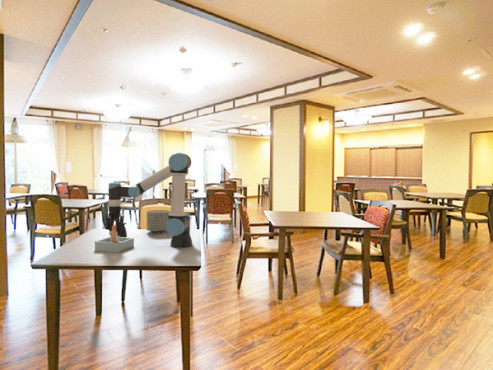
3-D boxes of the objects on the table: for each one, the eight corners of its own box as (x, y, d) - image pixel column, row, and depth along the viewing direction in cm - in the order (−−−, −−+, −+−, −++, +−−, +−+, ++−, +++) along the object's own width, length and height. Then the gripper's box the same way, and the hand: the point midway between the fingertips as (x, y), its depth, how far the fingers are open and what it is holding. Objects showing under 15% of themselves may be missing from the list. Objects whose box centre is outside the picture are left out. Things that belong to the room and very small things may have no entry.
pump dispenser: (121, 244, 217) (121, 222, 216) (108, 243, 219) (108, 222, 218) (130, 240, 227) (130, 220, 226) (117, 240, 229) (117, 219, 228)
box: (133, 246, 210) (133, 238, 210) (118, 252, 195) (118, 243, 194) (111, 244, 214) (111, 236, 214) (94, 250, 199) (94, 241, 199)
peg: (115, 246, 202) (115, 225, 202) (110, 246, 203) (110, 225, 202) (119, 245, 206) (118, 225, 205) (114, 245, 207) (114, 224, 206)
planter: (164, 229, 272) (164, 209, 271) (173, 233, 257) (173, 211, 257) (143, 231, 260) (143, 210, 259) (152, 235, 245) (152, 213, 245)
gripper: (129, 205, 205) (129, 240, 206) (107, 204, 209) (108, 238, 210) (122, 206, 197) (122, 242, 199) (100, 205, 201) (100, 240, 203)
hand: (114, 240), depth 204 cm, fingers closed on peg, 3 cm apart
